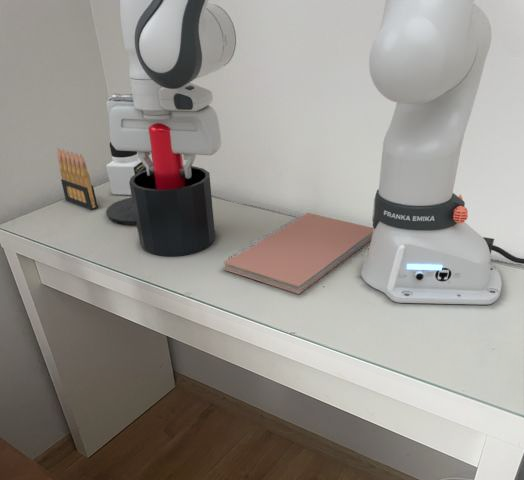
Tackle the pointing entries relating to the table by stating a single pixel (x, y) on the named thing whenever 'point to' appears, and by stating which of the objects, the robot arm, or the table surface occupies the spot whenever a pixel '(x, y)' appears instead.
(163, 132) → the bottle
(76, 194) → the ammunition clip
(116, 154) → the medicine bottle
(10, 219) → the table surface
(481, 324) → the table surface
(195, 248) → the trash bin
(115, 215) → the bin lid
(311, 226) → the notebook
